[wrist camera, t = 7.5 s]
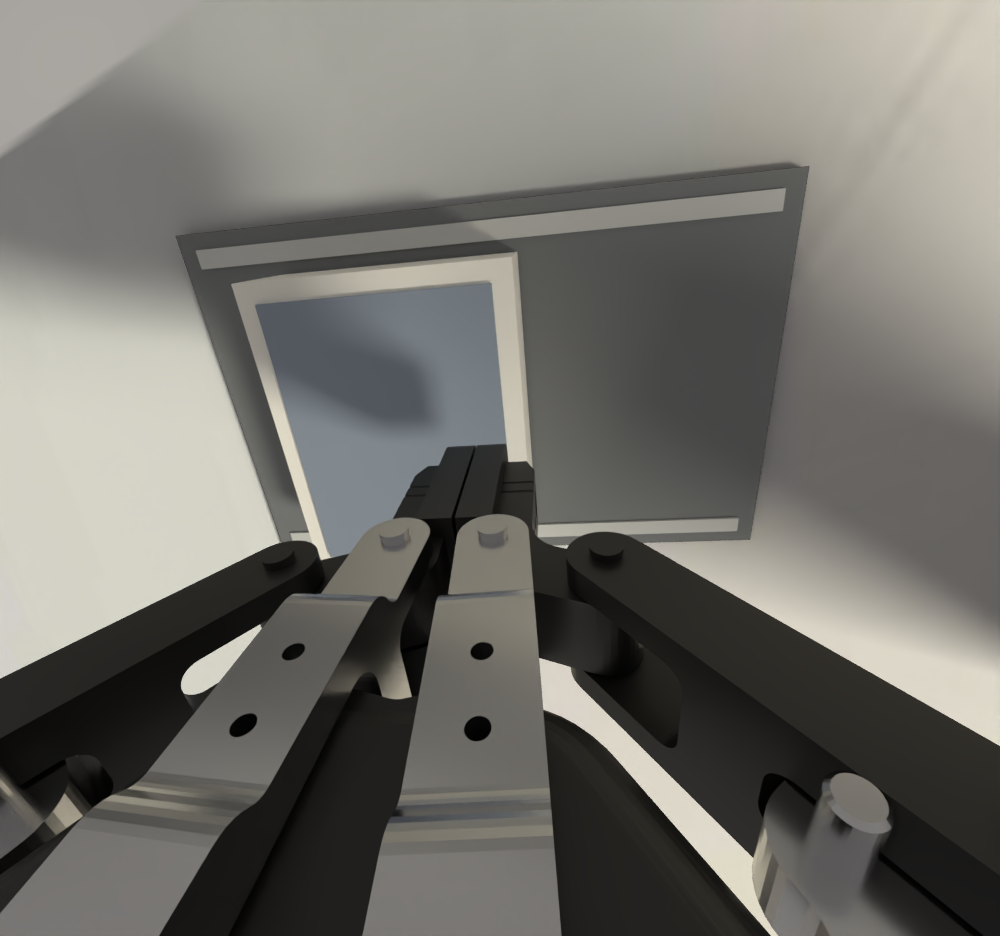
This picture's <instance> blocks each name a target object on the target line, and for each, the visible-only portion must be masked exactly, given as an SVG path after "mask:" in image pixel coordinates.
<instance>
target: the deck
mask: <svg viewBox="0 0 1000 936" xmlns="http://www.w3.org/2000/svg"><path fill="white" fill-rule="evenodd" d="M231 286H232V289H233V292H234V295H235V298H236V301H237V305H238V308H239V311H240V314H241V317H242V321H243V324H244V327H245V330H246V333H247V336H248V340H249V343H250V346H251V349H252V352H253V356H254V359H255V362H256V365H257V368H258V371H259V375H260V378H261V381H262V384H263V387H264V391H265V394H266V397H267V400H268V403H269V406H270V410H271V413H272V416H273V419H274V422H275V426H276V429H277V432H278V435H279V438H280V441H281V445H282V448H283V451H284V454H285V457H286V461H287V464H288V467H289V470H290V473H291V477H292V480H293V483H294V486H295V489H296V492H297V496H298V499H299V502H300V505H301V508H302V512H303V515H304V518H305V521H306V524H307V527H308V531H309V534H310V537H311V540H312V543H313V544H314V545H315V546H316V547H317V549H318V553H319V556H320V559H321V560H323V559H328V558H332V557H337V556H341V555H345V554H349V553H350V552H351V551H352V550H353V548H354V547H355V545H356V544H357V543H358V541H359V540H360V538H361V537H362V536H363V535H364V533H365V532H366V531H368V530H369V529H370V528H372V527H373V526H375V525H377V524H379V523H382V522H384V521H387V520H391V519H393V517H394V515H395V514H396V512H397V510H398V508H399V506H400V504H401V502H402V500H403V498H404V497H405V494H406V492H407V491H408V489H409V488H410V485H411V483H412V481H413V479H414V477H415V476H416V475H417V474H418V473H419V472H421V471H422V470H423V469H425V468H426V467H427V466H439V464H440V462H441V459H442V457H443V455H444V453H445V450H446V448H447V447H453V446H471V445H476V447H477V445H489V444H506V446H507V452H508V462H519V461H527V462H528V463H529V464H530V466H531V467H532V452H531V438H530V424H529V410H528V396H527V381H526V367H525V353H524V339H523V324H522V310H521V296H520V282H519V268H518V253H517V252H509V253H499V254H489V255H478V256H468V257H458V258H448V259H437V260H427V261H417V262H407V263H397V264H386V265H376V266H366V267H356V268H345V269H335V270H325V271H315V272H304V273H294V274H284V275H278V276H272V277H267V278H261V279H256V280H250V281H245V282H239V283H234V284H231ZM532 468H533V467H532Z"/></svg>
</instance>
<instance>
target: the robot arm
mask: <svg viewBox="0 0 1000 936" xmlns="http://www.w3.org/2000/svg"><path fill="white" fill-rule="evenodd" d="M259 624H260V625H261V627H262V629H261V630H260V632H259V633H258V634H257V635H256V637H255V638H254V639H253V641H252V642H251V643H250V644H249V646H248V647H247V648H246V649H245V651H244V652H243V653H242V654H241V656H240V657H239V658H238V659H237V661H236V662H235V663H234V664H233V666H232V667H231V668H230V669H229V671H228V672H227V673H226V674H225V676H224V677H223V678H222V679H221V681H220V682H219V683H217V684H216V685H214V686H212V687H211V688H209V689H208V690H206V691H204V692H202V693H199V694H196V695H187V694H184V693H183V692H182V689H181V680H182V677H183V675H184V673H185V672H186V671H187V669H188V668H189V667H190V666H191V665H192V664H194V663H195V662H196V661H198V660H200V659H201V658H203V657H205V656H206V655H208V654H210V653H212V652H213V651H215V650H217V649H218V648H220V647H222V646H223V645H225V644H227V643H229V642H230V641H232V640H234V639H235V638H237V637H239V636H240V635H242V634H244V633H246V632H247V631H249V630H251V629H252V628H254V627H256V626H258V625H259ZM539 658H542V659H545V660H549V661H552V662H556V663H559V664H563V665H566V666H570V667H571V672H572V675H573V677H574V679H575V681H576V682H577V683H578V685H579V686H580V687H581V688H582V689H583V690H584V691H585V692H586V693H587V694H588V695H589V696H590V697H591V698H592V699H593V700H594V701H595V702H596V703H597V704H598V705H599V706H600V707H601V708H602V709H603V710H604V711H605V712H606V713H607V714H608V715H609V716H610V717H611V718H612V719H613V720H615V721H616V722H617V723H618V724H619V725H620V726H621V727H622V728H623V729H624V730H625V731H626V732H627V733H628V734H629V735H630V736H631V737H632V738H633V739H634V740H635V741H636V742H637V743H638V744H639V745H640V746H641V747H642V748H643V749H644V750H645V751H646V752H647V753H648V754H649V755H650V756H651V757H652V758H653V759H654V760H655V761H656V762H657V763H658V764H659V765H660V766H661V767H662V768H663V769H664V770H665V771H666V772H667V773H668V774H669V775H670V776H671V777H672V778H673V779H674V780H675V781H676V782H677V783H678V784H679V785H680V786H681V787H682V788H683V789H684V790H685V791H686V792H687V793H688V794H689V795H690V796H691V797H692V798H693V799H694V800H695V801H696V802H697V803H698V804H699V805H700V806H701V807H702V808H703V809H704V810H705V811H706V812H707V813H708V814H709V815H710V816H712V817H713V818H714V819H715V820H716V821H717V822H718V823H719V824H720V825H721V826H722V827H723V828H724V829H725V830H726V831H727V832H728V833H729V834H730V835H731V836H732V837H733V838H734V839H735V840H736V841H737V842H738V843H739V844H740V845H741V846H742V847H743V848H744V849H745V850H746V851H747V852H748V853H749V854H750V855H751V856H752V857H753V864H752V879H753V884H754V890H755V893H756V896H757V899H758V902H759V904H760V906H761V908H762V911H763V913H764V915H765V917H766V918H767V920H768V921H769V923H770V925H771V926H772V928H773V929H774V931H775V932H776V933H777V934H778V936H1000V746H999V745H997V744H995V743H993V742H992V741H990V740H988V739H986V738H985V737H983V736H981V735H979V734H978V733H976V732H974V731H972V730H970V729H969V728H967V727H965V726H963V725H962V724H960V723H958V722H956V721H955V720H953V719H951V718H949V717H948V716H946V715H944V714H942V713H941V712H939V711H937V710H935V709H933V708H932V707H930V706H928V705H926V704H925V703H923V702H921V701H919V700H918V699H916V698H914V697H912V696H911V695H909V694H907V693H905V692H904V691H902V690H900V689H898V688H896V687H895V686H893V685H891V684H889V683H888V682H886V681H884V680H882V679H881V678H879V677H877V676H875V675H874V674H872V673H870V672H868V671H867V670H865V669H863V668H861V667H860V666H858V665H856V664H854V663H852V662H851V661H849V660H847V659H845V658H844V657H842V656H840V655H838V654H837V653H835V652H833V651H831V650H830V649H828V648H826V647H824V646H823V645H821V644H819V643H817V642H815V641H814V640H812V639H810V638H808V637H807V636H805V635H803V634H801V633H800V632H798V631H796V630H794V629H793V628H791V627H789V626H787V625H786V624H784V623H782V622H780V621H778V620H777V619H775V618H773V617H771V616H770V615H768V614H766V613H764V612H763V611H761V610H759V609H757V608H756V607H754V606H752V605H750V604H749V603H747V602H745V601H743V600H742V599H740V598H738V597H736V596H734V595H733V594H731V593H729V592H727V591H726V590H724V589H722V588H720V587H719V586H717V585H715V584H713V583H712V582H710V581H708V580H706V579H705V578H703V577H701V576H699V575H697V574H696V573H694V572H692V571H690V570H689V569H687V568H685V567H683V566H682V565H680V564H678V563H676V562H675V561H673V560H671V559H669V558H668V557H666V556H664V555H662V554H660V553H659V552H657V551H655V550H653V549H652V548H650V547H648V546H646V545H645V544H643V543H641V542H639V541H638V540H636V539H634V538H632V537H630V536H627V535H624V534H621V533H616V532H605V531H603V532H593V533H588V534H585V535H582V536H580V537H578V538H576V539H575V540H574V541H572V542H571V543H570V545H569V546H568V548H567V549H564V548H560V547H555V546H552V545H549V544H547V543H545V542H543V541H542V540H540V539H539V538H538V514H537V499H536V485H535V471H534V469H533V468H532V467H531V466H530V464H529V463H528V462H527V461H519V462H508V452H507V446H506V444H489V445H477V447H476V445H471V446H453V447H447V448H446V450H445V453H444V455H443V457H442V459H441V462H440V464H439V466H427V467H426V468H425V469H423V470H422V471H421V472H419V473H418V474H417V475H416V476H415V477H414V479H413V481H412V483H411V485H410V488H409V489H408V491H407V492H406V494H405V497H404V498H403V500H402V502H401V504H400V506H399V508H398V510H397V512H396V514H395V515H394V517H393V519H391V520H387V521H384V522H382V523H379V524H377V525H375V526H373V527H372V528H370V529H369V530H368V531H366V532H365V533H364V535H363V536H362V537H361V538H360V540H359V541H358V543H357V544H356V545H355V547H354V548H353V550H352V551H351V552H350V553H349V554H345V555H341V556H337V557H332V558H328V559H323V560H321V559H320V556H319V553H318V549H317V547H316V546H315V545H314V544H312V543H311V542H307V541H301V540H295V541H287V542H282V543H279V544H275V545H273V546H270V547H268V548H265V549H263V550H261V551H259V552H257V553H255V554H253V555H251V556H249V557H247V558H245V559H243V560H241V561H239V562H237V563H235V564H233V565H231V566H229V567H227V568H225V569H223V570H221V571H218V572H216V573H214V574H212V575H210V576H208V577H206V578H204V579H202V580H200V581H198V582H196V583H194V584H192V585H190V586H188V587H186V588H184V589H182V590H180V591H178V592H176V593H174V594H172V595H170V596H168V597H166V598H164V599H161V600H159V601H157V602H155V603H153V604H151V605H149V606H147V607H145V608H143V609H141V610H139V611H137V612H135V613H133V614H131V615H129V616H127V617H125V618H123V619H121V620H119V621H117V622H115V623H113V624H111V625H109V626H107V627H104V628H102V629H100V630H98V631H96V632H94V633H92V634H90V635H88V636H86V637H84V638H82V639H80V640H78V641H76V642H74V643H72V644H70V645H68V646H66V647H64V648H62V649H60V650H58V651H56V652H54V653H52V654H50V655H47V656H45V657H43V658H41V659H39V660H37V661H35V662H33V663H31V664H29V665H27V666H25V667H23V668H21V669H19V670H17V671H15V672H13V673H11V674H9V675H7V676H5V677H3V678H1V679H0V936H770V934H769V933H768V932H767V931H766V930H765V929H764V928H763V926H762V925H761V924H760V923H759V922H758V921H757V920H756V918H755V917H754V916H753V915H752V914H751V913H750V912H749V910H748V909H747V908H746V907H745V906H744V905H743V903H742V902H741V901H740V900H739V899H738V898H737V897H736V895H735V894H734V893H733V892H732V891H731V890H730V889H729V887H728V886H727V885H726V884H725V883H724V882H723V881H722V879H721V878H720V877H719V876H718V875H717V874H716V873H715V871H714V870H713V869H712V868H711V867H710V866H709V865H708V863H707V862H706V861H705V860H704V859H703V858H702V857H701V855H700V854H699V853H698V852H697V851H696V850H695V849H694V847H693V846H692V845H691V844H690V843H689V842H688V841H687V839H686V838H685V837H684V836H683V835H682V834H681V833H680V831H679V830H678V829H677V828H676V827H675V826H674V825H673V823H672V822H671V821H670V820H669V819H668V818H667V817H666V815H665V814H664V813H663V812H662V811H661V810H660V809H659V807H658V806H657V805H656V804H655V803H654V802H653V801H652V799H651V798H650V797H649V796H648V795H647V794H646V793H645V791H644V790H643V789H642V788H641V787H640V786H639V785H638V783H637V782H636V781H635V780H634V779H633V778H632V777H631V775H630V774H629V773H628V772H627V771H626V770H625V769H624V767H623V766H622V765H621V764H620V763H619V762H618V761H617V759H616V758H615V757H614V756H613V755H612V754H611V753H610V752H609V751H608V750H607V749H606V748H605V747H604V746H603V745H602V744H601V743H600V742H598V741H597V740H596V739H595V738H594V737H593V736H591V735H590V734H589V733H587V732H586V731H584V730H583V729H581V728H580V727H579V726H577V725H576V724H574V723H572V722H570V721H568V720H566V719H565V718H563V717H561V716H558V715H556V714H553V713H551V712H548V711H546V710H543V701H542V689H541V677H540V664H539Z"/></svg>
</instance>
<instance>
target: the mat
mask: <svg viewBox="0 0 1000 936" xmlns="http://www.w3.org/2000/svg"><path fill="white" fill-rule="evenodd" d="M808 172H809V166H806V167H796V168H787V169H778V170H769V171H760V172H751V173H742V174H733V175H724V176H715V177H706V178H697V179H688V180H679V181H669V182H660V183H651V184H642V185H633V186H624V187H615V188H606V189H597V190H588V191H579V192H570V193H561V194H552V195H542V196H533V197H524V198H515V199H506V200H497V201H488V202H479V203H470V204H461V205H452V206H443V207H434V208H424V209H415V210H406V211H397V212H388V213H379V214H370V215H361V216H352V217H343V218H334V219H325V220H316V221H307V222H297V223H288V224H279V225H270V226H261V227H252V228H243V229H234V230H225V231H216V232H207V233H198V234H189V235H180V236H176V239H177V242H178V245H179V247H180V250H181V253H182V256H183V259H184V262H185V265H186V268H187V271H188V273H189V276H190V279H191V282H192V285H193V288H194V291H195V294H196V296H197V299H198V302H199V305H200V308H201V311H202V314H203V317H204V320H205V322H206V325H207V328H208V331H209V334H210V337H211V340H212V343H213V345H214V348H215V351H216V354H217V357H218V360H219V363H220V366H221V369H222V371H223V374H224V377H225V380H226V383H227V386H228V389H229V392H230V394H231V397H232V400H233V403H234V406H235V409H236V412H237V415H238V417H239V420H240V423H241V426H242V429H243V432H244V435H245V438H246V441H247V443H248V446H249V449H250V452H251V455H252V458H253V461H254V464H255V466H256V469H257V472H258V475H259V478H260V481H261V484H262V487H263V490H264V492H265V495H266V498H267V501H268V504H269V507H270V510H271V513H272V515H273V518H274V521H275V524H276V527H277V530H278V533H279V536H280V539H281V541H282V542H287V541H295V540H301V541H307V542H311V543H312V540H311V537H310V534H309V531H308V527H307V524H306V521H305V518H304V515H303V512H302V508H301V505H300V502H299V499H298V496H297V492H296V489H295V486H294V483H293V480H292V477H291V473H290V470H289V467H288V464H287V461H286V457H285V454H284V451H283V448H282V445H281V441H280V438H279V435H278V432H277V429H276V426H275V422H274V419H273V416H272V413H271V410H270V406H269V403H268V400H267V397H266V394H265V391H264V387H263V384H262V381H261V378H260V375H259V371H258V368H257V365H256V362H255V359H254V356H253V352H252V349H251V346H250V343H249V340H248V336H247V333H246V330H245V327H244V324H243V321H242V317H241V314H240V311H239V308H238V305H237V301H236V298H235V295H234V292H233V289H232V286H231V284H234V283H239V282H245V281H250V280H256V279H261V278H267V277H272V276H278V275H284V274H294V273H304V272H315V271H325V270H335V269H345V268H356V267H366V266H376V265H386V264H397V263H407V262H417V261H427V260H437V259H448V258H458V257H468V256H478V255H489V254H499V253H509V252H517V253H518V268H519V282H520V296H521V310H522V324H523V339H524V353H525V367H526V381H527V396H528V410H529V424H530V438H531V452H532V467H533V469H534V471H535V485H536V499H537V514H538V538H539V539H540V540H542V541H543V542H545V543H547V544H549V545H570V543H571V542H572V541H574V540H575V539H576V538H578V537H580V536H582V535H585V534H588V533H593V532H603V531H605V532H616V533H621V534H624V535H627V536H630V537H632V538H634V539H636V540H638V541H639V542H641V543H651V542H685V541H720V540H750V537H751V531H752V525H753V518H754V512H755V506H756V499H757V493H758V487H759V481H760V474H761V468H762V462H763V455H764V449H765V443H766V436H767V430H768V424H769V418H770V411H771V405H772V399H773V392H774V386H775V380H776V373H777V367H778V361H779V355H780V348H781V342H782V336H783V329H784V323H785V317H786V310H787V304H788V298H789V291H790V285H791V279H792V273H793V266H794V260H795V254H796V247H797V241H798V235H799V228H800V222H801V216H802V210H803V203H804V197H805V191H806V184H807V178H808ZM312 544H313V543H312Z"/></svg>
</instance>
